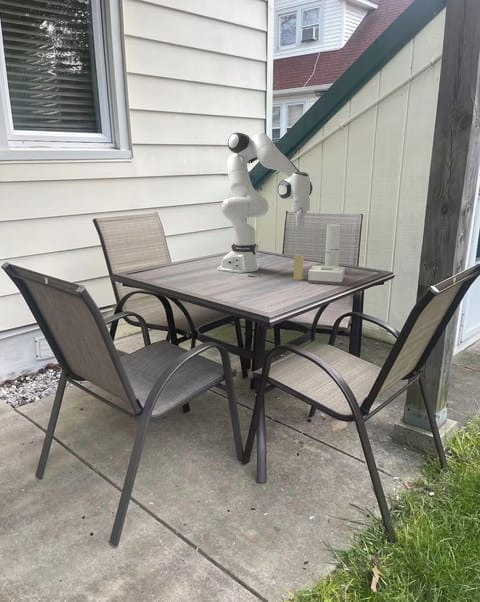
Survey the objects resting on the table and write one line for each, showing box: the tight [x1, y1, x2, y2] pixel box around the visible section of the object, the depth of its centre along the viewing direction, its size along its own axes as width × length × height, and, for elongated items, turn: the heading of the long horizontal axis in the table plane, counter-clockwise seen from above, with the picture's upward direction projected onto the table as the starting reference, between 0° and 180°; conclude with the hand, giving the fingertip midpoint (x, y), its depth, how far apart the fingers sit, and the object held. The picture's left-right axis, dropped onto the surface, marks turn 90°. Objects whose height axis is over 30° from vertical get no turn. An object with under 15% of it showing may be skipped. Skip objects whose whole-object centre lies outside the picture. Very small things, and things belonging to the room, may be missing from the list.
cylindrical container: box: [324, 223, 342, 267], centre depth 251 cm, size 7×7×25 cm
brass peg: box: [293, 254, 305, 281], centre depth 238 cm, size 4×4×12 cm
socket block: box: [307, 264, 346, 286], centre depth 235 cm, size 16×13×6 cm
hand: (299, 235), depth 234 cm, fingers open, 8 cm apart
